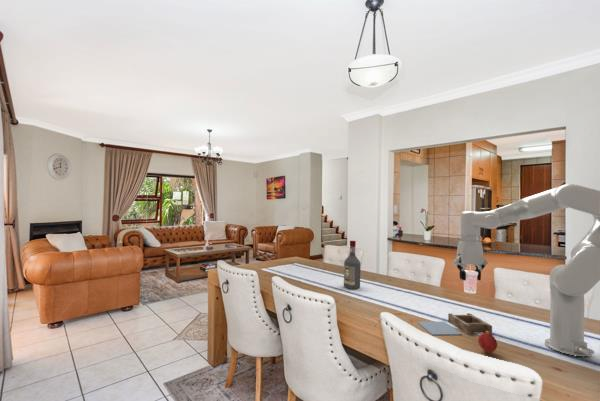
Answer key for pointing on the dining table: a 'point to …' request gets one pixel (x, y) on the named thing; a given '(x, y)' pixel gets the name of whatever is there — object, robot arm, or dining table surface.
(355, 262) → the liquor
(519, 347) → the dining table surface
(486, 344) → the onion
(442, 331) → the mat
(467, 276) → the beverage cup
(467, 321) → the wooden crate
